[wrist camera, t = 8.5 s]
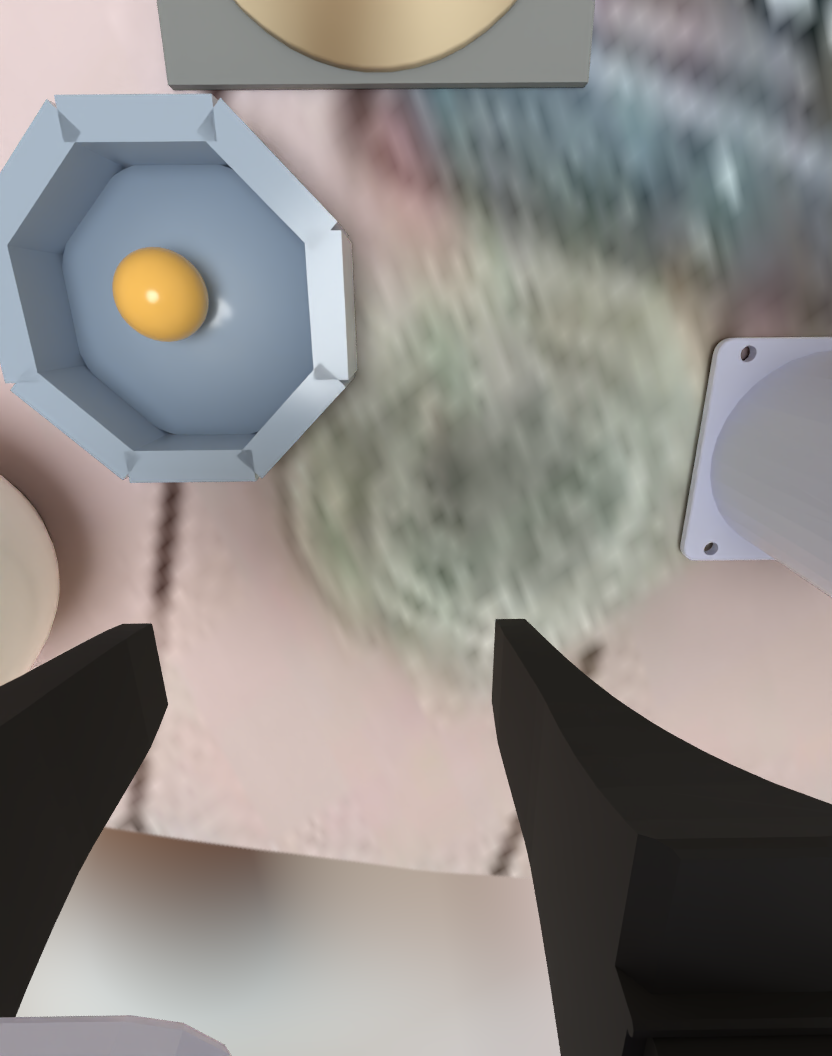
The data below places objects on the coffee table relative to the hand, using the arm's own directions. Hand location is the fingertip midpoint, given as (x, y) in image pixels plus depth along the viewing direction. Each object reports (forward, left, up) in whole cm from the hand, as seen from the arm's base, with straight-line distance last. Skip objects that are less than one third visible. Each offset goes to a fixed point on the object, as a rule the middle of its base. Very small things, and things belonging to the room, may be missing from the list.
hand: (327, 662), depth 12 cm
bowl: (+5, -7, -10) cm, 13 cm away
